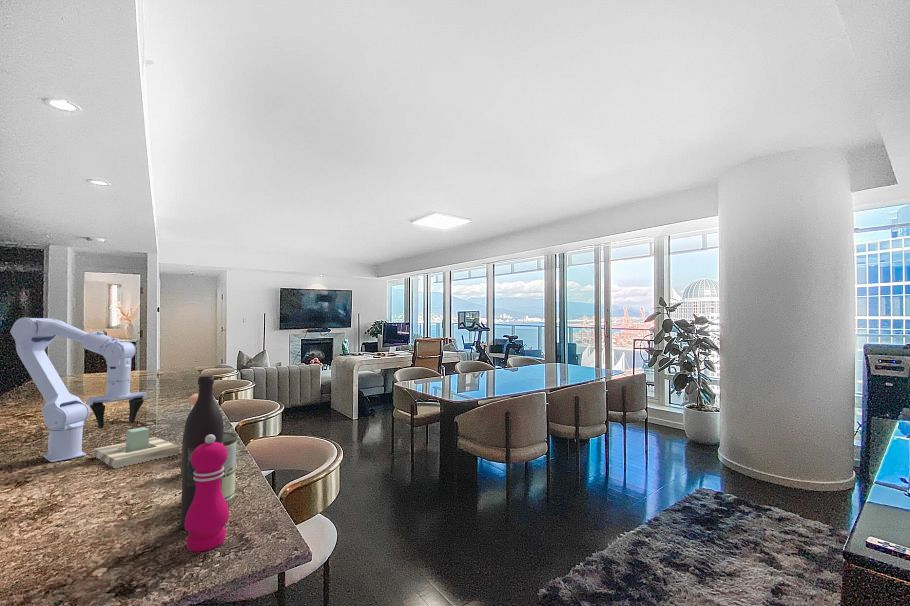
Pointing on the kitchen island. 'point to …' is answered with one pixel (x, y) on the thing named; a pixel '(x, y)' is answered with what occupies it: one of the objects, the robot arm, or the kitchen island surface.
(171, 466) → the kitchen island surface
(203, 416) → the wine bottle
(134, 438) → the peg
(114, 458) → the board with square hole
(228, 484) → the coffee can
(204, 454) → the pepper mill
